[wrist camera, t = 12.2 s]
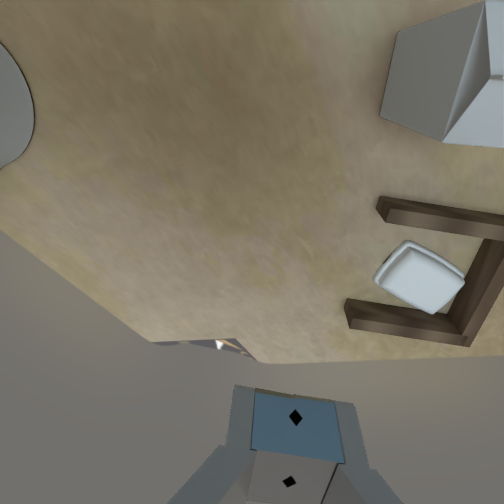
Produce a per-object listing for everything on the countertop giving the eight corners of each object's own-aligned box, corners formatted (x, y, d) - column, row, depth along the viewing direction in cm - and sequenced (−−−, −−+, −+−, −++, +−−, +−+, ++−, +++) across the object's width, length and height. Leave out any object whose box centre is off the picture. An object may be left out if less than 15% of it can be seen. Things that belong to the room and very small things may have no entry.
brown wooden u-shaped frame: (343, 308, 45) (349, 328, 41) (379, 195, 38) (390, 208, 34) (454, 325, 45) (469, 347, 41) (510, 216, 38) (534, 231, 34)
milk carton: (451, 122, 34) (622, 169, 17) (378, 116, 34) (475, 156, 17) (478, 37, 31) (720, -10, 14) (396, 31, 31) (537, -22, 14)
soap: (465, 270, 41) (478, 283, 39) (425, 310, 44) (434, 324, 42) (405, 234, 40) (413, 245, 37) (367, 278, 43) (373, 291, 40)
